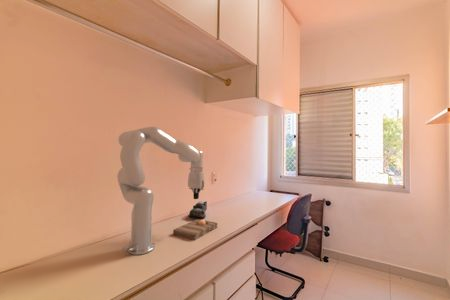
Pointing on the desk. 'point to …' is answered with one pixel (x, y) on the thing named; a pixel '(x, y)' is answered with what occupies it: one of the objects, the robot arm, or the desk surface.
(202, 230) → the board
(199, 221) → the ball
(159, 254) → the desk surface
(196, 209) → the lucky cat figurine
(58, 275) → the desk surface
